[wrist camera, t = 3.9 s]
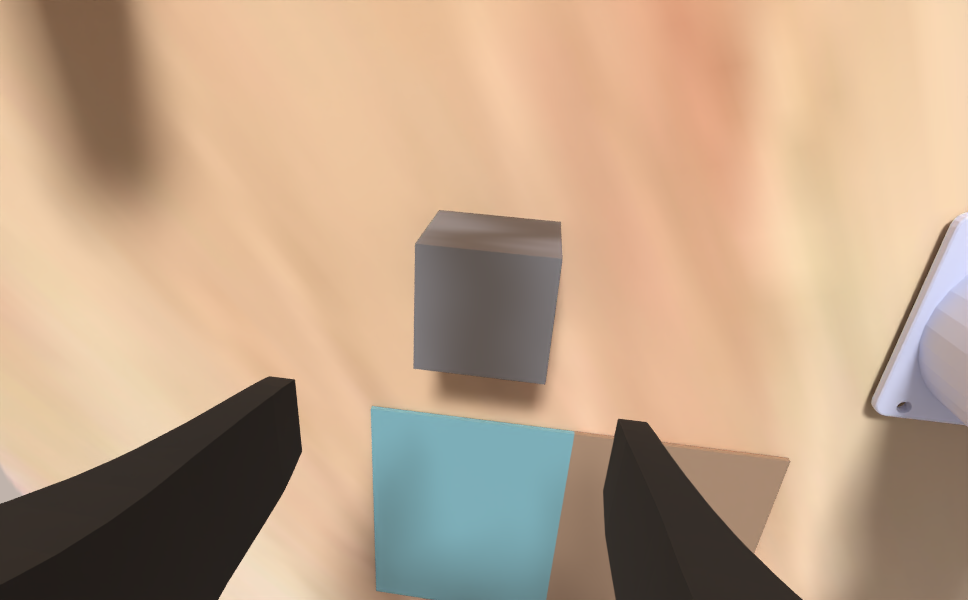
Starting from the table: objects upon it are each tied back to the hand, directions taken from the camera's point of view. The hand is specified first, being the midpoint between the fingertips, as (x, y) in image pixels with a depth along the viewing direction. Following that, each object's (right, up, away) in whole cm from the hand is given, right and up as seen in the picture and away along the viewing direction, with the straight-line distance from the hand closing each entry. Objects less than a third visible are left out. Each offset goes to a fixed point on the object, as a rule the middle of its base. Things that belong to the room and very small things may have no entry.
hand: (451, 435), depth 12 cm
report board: (+4, -8, +14) cm, 17 cm away
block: (+1, +4, +9) cm, 10 cm away
